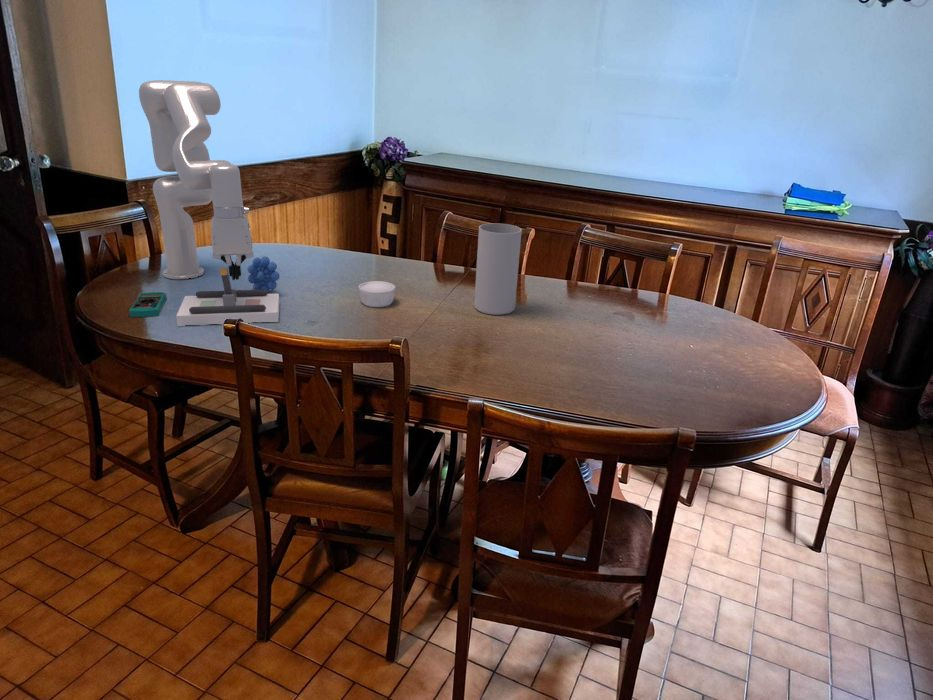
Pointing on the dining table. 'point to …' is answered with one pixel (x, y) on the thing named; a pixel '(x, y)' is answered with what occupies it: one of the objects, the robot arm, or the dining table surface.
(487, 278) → the cylinder vase
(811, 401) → the dining table surface
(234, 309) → the pair of dark bars
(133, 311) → the digital multimeter
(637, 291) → the dining table surface
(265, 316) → the switch base plate
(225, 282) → the breaker lever
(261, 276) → the grapes
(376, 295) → the ramekin
